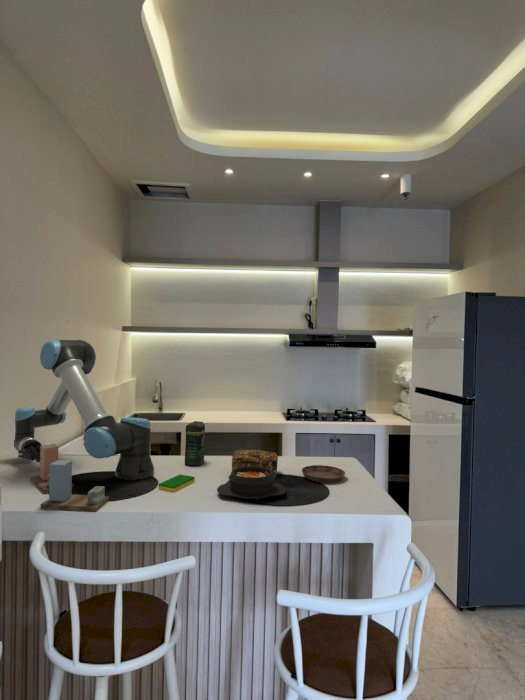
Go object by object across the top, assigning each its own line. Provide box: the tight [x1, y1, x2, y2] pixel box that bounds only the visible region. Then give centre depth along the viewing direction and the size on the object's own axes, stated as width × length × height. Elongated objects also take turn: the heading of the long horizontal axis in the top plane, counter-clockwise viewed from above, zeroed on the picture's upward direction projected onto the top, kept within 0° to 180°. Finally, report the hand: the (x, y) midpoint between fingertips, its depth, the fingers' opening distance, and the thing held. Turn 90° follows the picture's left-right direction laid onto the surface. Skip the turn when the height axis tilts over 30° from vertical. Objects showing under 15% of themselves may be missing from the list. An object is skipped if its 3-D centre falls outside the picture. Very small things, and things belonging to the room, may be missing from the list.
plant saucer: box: [301, 464, 346, 484], centre depth 187 cm, size 18×18×3 cm
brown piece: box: [29, 474, 75, 495], centre depth 171 cm, size 18×10×6 cm, turn 41°
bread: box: [231, 449, 279, 477], centre depth 190 cm, size 19×11×10 cm, turn 86°
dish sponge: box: [158, 474, 196, 493], centre depth 173 cm, size 7×14×2 cm, turn 155°
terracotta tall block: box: [39, 443, 59, 480], centre depth 173 cm, size 5×5×12 cm
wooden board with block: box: [39, 485, 110, 513], centre depth 151 cm, size 18×10×6 cm, turn 86°
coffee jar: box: [184, 420, 206, 466], centre depth 203 cm, size 10×8×19 cm
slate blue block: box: [48, 459, 73, 502], centre depth 152 cm, size 5×5×12 cm
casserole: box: [216, 466, 287, 500], centre depth 165 cm, size 25×19×8 cm
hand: (46, 460), depth 175 cm, fingers closed
